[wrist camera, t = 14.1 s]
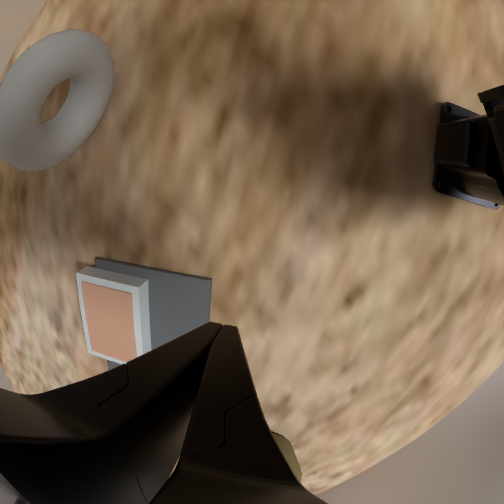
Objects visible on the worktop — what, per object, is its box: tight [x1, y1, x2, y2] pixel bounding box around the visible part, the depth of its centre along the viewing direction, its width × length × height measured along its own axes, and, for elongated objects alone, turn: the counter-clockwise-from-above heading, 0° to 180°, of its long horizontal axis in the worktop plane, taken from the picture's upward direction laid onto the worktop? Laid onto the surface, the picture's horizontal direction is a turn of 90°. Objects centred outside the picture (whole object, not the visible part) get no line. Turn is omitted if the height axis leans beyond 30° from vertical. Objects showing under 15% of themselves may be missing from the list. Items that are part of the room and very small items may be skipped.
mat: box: [95, 257, 212, 370], centre depth 24 cm, size 10×14×1 cm
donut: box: [0, 29, 114, 172], centre depth 14 cm, size 10×4×10 cm, turn 148°
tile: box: [76, 266, 151, 364], centre depth 23 cm, size 8×2×6 cm
